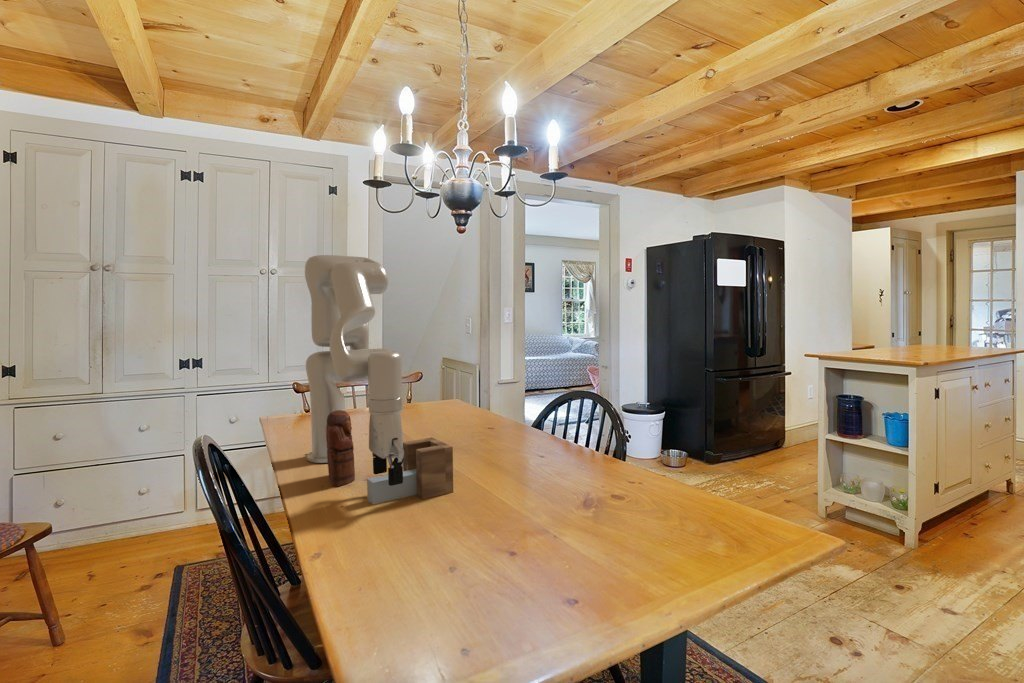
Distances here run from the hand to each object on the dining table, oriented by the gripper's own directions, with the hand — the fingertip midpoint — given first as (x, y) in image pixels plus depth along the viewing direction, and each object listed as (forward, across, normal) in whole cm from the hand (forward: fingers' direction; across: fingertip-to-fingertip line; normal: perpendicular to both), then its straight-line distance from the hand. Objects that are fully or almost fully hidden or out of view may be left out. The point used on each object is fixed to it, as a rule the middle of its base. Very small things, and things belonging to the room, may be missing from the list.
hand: (387, 478), depth 119 cm
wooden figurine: (+5, -20, -5) cm, 21 cm away
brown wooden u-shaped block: (+5, 0, +10) cm, 11 cm away
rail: (+5, 0, +3) cm, 5 cm away
